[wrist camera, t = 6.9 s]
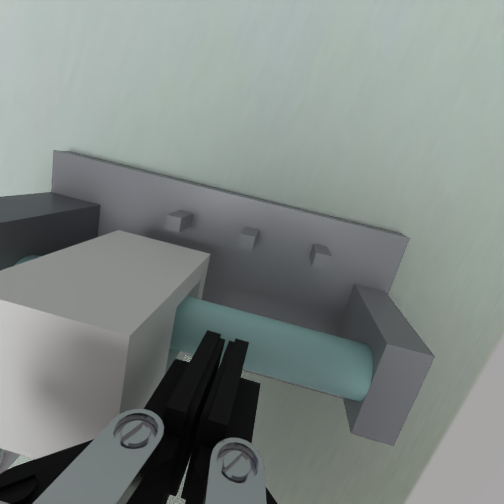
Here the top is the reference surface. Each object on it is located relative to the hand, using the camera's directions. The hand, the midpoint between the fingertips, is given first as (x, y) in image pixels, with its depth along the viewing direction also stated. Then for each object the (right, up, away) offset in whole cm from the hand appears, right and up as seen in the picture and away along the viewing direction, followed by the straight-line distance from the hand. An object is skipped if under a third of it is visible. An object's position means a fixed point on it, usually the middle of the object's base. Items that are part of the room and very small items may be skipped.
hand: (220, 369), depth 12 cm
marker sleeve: (-4, +3, +5) cm, 7 cm away
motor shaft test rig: (-1, +3, +9) cm, 9 cm away
